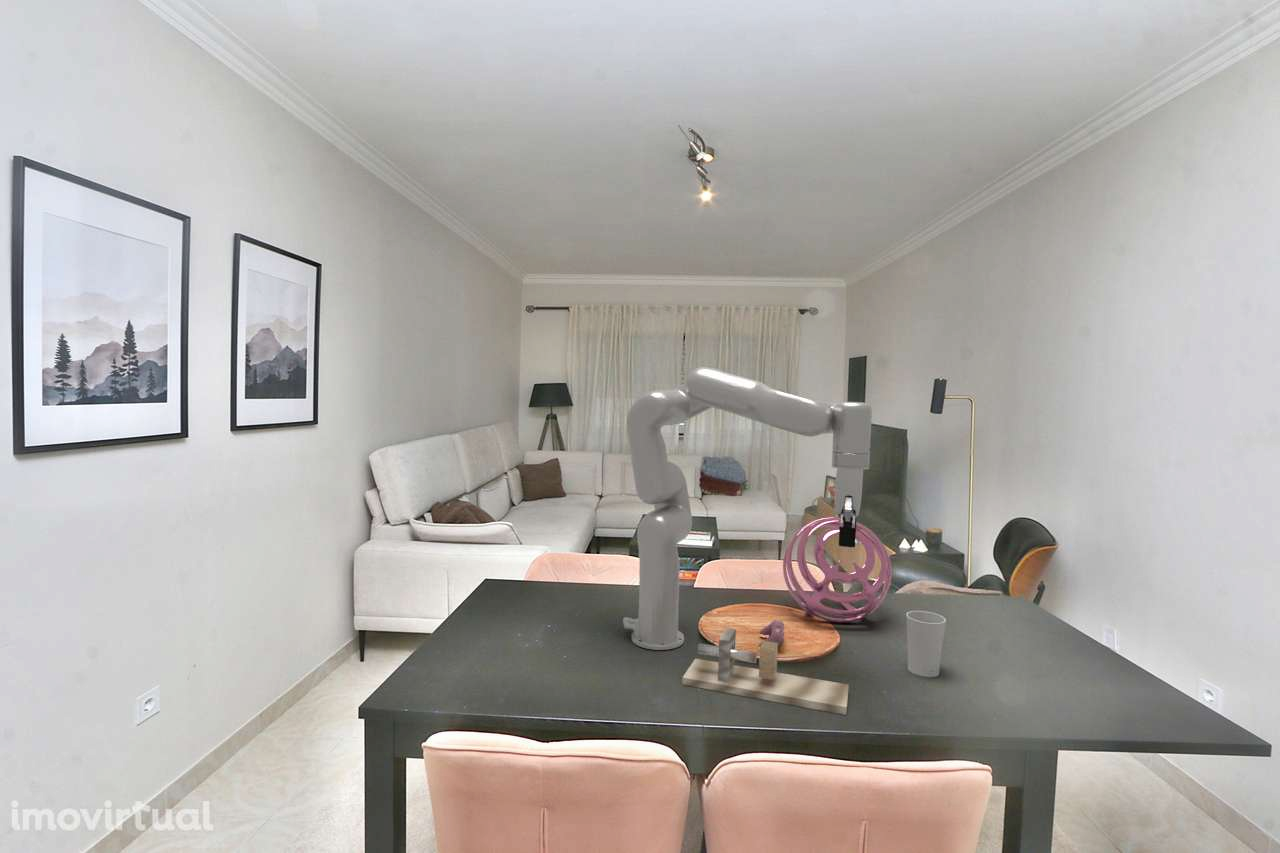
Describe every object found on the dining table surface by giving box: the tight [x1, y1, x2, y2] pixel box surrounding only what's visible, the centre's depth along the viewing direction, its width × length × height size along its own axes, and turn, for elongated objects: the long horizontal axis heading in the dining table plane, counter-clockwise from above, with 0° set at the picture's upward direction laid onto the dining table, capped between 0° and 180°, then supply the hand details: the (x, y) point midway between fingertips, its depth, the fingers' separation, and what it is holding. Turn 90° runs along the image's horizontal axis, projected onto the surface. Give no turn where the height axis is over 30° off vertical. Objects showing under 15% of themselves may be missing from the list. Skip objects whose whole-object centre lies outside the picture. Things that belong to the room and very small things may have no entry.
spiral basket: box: [782, 516, 893, 624], centre depth 174 cm, size 28×28×27 cm
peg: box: [697, 640, 779, 680], centre depth 132 cm, size 16×4×6 cm, turn 70°
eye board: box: [681, 627, 850, 716], centre depth 130 cm, size 32×10×10 cm, turn 70°
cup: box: [905, 610, 947, 678], centre depth 140 cm, size 8×8×12 cm
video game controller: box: [758, 619, 786, 648], centre depth 153 cm, size 10×5×7 cm, turn 169°
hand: (847, 541), depth 136 cm, fingers open, 9 cm apart
